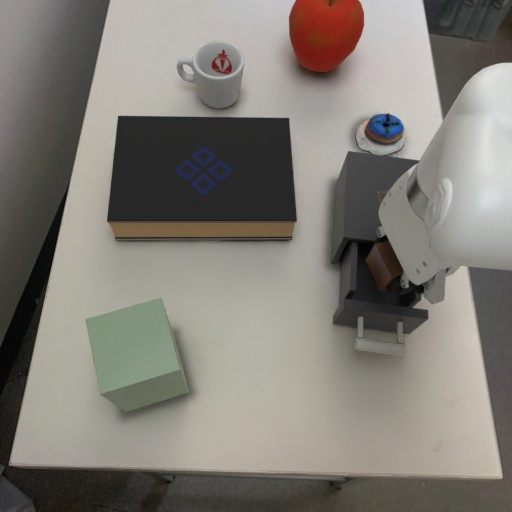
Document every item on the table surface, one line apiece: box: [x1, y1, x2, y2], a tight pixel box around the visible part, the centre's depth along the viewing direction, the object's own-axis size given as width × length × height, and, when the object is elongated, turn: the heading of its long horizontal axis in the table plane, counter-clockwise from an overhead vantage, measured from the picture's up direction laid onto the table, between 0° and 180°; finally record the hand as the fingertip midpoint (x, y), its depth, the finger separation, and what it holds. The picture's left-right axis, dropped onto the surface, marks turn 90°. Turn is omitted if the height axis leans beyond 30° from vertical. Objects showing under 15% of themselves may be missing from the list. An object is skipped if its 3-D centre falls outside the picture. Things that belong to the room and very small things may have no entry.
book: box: [106, 115, 298, 241], centre depth 71 cm, size 17×25×7 cm
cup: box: [176, 40, 245, 109], centre depth 79 cm, size 11×8×8 cm
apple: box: [288, 0, 365, 73], centre depth 80 cm, size 12×12×14 cm
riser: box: [85, 297, 190, 413], centre depth 56 cm, size 8×8×14 cm
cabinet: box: [330, 150, 420, 266], centre depth 69 cm, size 14×12×9 cm
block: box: [366, 240, 404, 291], centre depth 59 cm, size 4×4×4 cm
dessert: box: [355, 112, 406, 156], centre depth 80 cm, size 8×7×6 cm
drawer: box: [332, 240, 429, 357], centre depth 65 cm, size 17×10×7 cm, turn 173°
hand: (389, 269), depth 61 cm, fingers closed on block, 4 cm apart
